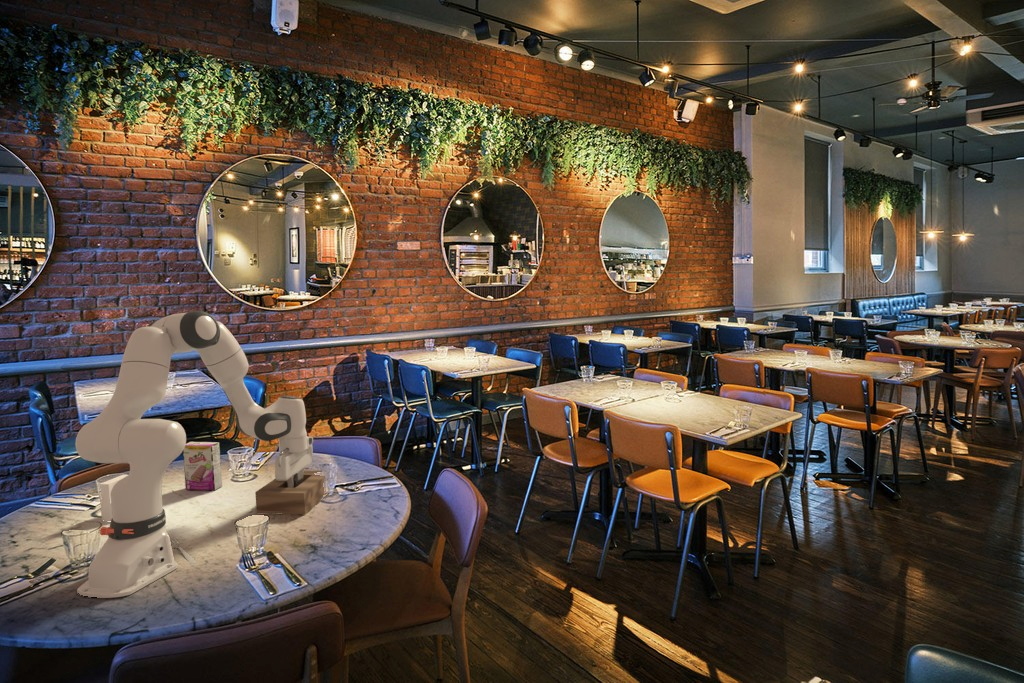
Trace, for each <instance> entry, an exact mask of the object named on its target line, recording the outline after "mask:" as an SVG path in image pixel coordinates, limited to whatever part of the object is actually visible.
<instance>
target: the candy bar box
mask: <svg viewBox="0 0 1024 683" xmlns="http://www.w3.org/2000/svg"><path fill="white" fill-rule="evenodd" d="M220 449H221V447H220V442H215V441H213V442H212V441H189V442H186V444H185V447H184V450H183V451H182V455H183V456H182V457H183V458H182V460H183V467H184V468H183V469H184V472H183V473H184V486H185V487H184V488H185V490H187V491H209V490H213V491H214V492H215V491H218V489H220V488H221V487H223V479H222V465H221V464H222V463H221V450H220ZM213 491H212V492H213Z"/></svg>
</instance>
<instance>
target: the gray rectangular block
mask: <svg viewBox="0 0 1024 683" xmlns="http://www.w3.org/2000/svg"><path fill="white" fill-rule="evenodd" d="M293 476H294V478H293V481H294V482H295V487H294V488H296V487H297V486H298V485H300V484H301V483H302V482H304V477H303V469H302V470H300V471H299V472H297V473H296V474H295V475H293ZM286 482H287V481H286ZM287 488H288V483H287Z"/></svg>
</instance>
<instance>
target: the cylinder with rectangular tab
mask: <svg viewBox="0 0 1024 683" xmlns="http://www.w3.org/2000/svg"><path fill="white" fill-rule="evenodd" d="M128 475H129V474H121V475H119V476H116V477H114V478H110V479H109V480H105V481H103V482H101V483H100V495H101V496H100V497H101V499H100V501H99V503H100V515H101V521H102V520H104V521H111V519H112V518H113V517H112V506H111V495H110V493H111V490H112V488H113V486H114V485H115V484H116V483H117V482H118V481H119V480H121V479H123V478H124V477H126V476H128ZM104 521H103V522H104Z"/></svg>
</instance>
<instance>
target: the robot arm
mask: <svg viewBox="0 0 1024 683" xmlns="http://www.w3.org/2000/svg"><path fill="white" fill-rule="evenodd" d="M193 351H195V352H197V354H198V355H199V357H200V358H201V359H200V360H202V362H203V364H204V366H205V367H206V369H207V370H208V372H209V373H210V374H211V376H212V377H213V379H214V380H215V381H216V382H217V383H218V384H219V386H220V387H221V389H222V390H223V392H224V394H225V396H226V398H227V400H228V401H229V403H230V405H231V407H232V409H233V411H234V415H235V423H236V427H237V429H238V430H239V432H240V433H241V434H243V435H245V436H248V437H251V438H254V439H256V440H260V441H263V442H270V441H274V440H277V439H278V449H279V453H278V456H277V457H276V458H275V462H274V479H275V478H276V480H277V481H287V483H288V488H294V487H295V482H294V481H293V478H294V476H293V475H295V474H296V473H297V472H299V471H300V470H302V469H303V473H304V470H305V468H306V467H308V466H309V465H311V463H313V462H312V461H313V457H314V455H313V454H314V453H313V452H314V450H313V448H314V447H313V443H314V437H313V436H308V432H307V430H306V424H307V414H306V407H305V403H304V400H303V398H301V397H298V396H294V395H293V396H292V395H281V396H279V397H278V398H277V399H276V400H275V401H274V402H273V403H272V404H271V405H269V406H267V407H262V406H260V405H259V404H257V403H256V402H255V400H253V398H252V396H251V394H250V391H249V390H248V388H247V387H246V384H245V382H244V378H245V376H246V375H247V374H248V371H249V367H250V365H249V361H248V358H247V357H246V353H245V352H244V351H243V349H242V347H241V345H240V344H239V342H238V340H237V339H236V338H235V337H234V335H233V334H232V333H231V331H230V330H229V329H228V328H227V327H226V325H224V324H223V322H221V321H218V320H217V319H215V318H214V316H212V315H211V314H210V313H209V312H206V311H202V310H190V311H188V312H181V313H173V314H170V315H167V316H164V317H160V318H157V319H154V320H153V321H151V322H150V323H149V324H148V325H147V326H142V327H139V328H137V329H135V330H134V331H133V332H132V333H131V335H130V337H129V338H128V341H127V344H126V346H125V350H124V352H123V356H122V359H121V365H120V369H119V374H118V378H117V381H116V386H115V389H114V392H113V394H112V397H111V398H110V400H109V401H108V403H107V405H106V406H105V407H104V409H103V410H102V411H101V412H100V413H99V414H98V415H97V416H96V417H95V418H94V419H92V420H91V421H89V422H88V423H86V424H84V425H83V426H82V427H81V428H80V429H79V431H78V433H77V435H76V437H75V443H74V444H75V449H76V452H77V454H78V456H79V457H80V458H81V459H83V460H85V461H89V462H93V463H99V464H129V473H128V474H127V475H128V476H126V477H124V478H123V479H121V480H119V481H118V482H117V483H116V484H115V485H114V486H113V488H112V490H111V493H110V495H111V506H112V517H113V518H112V519H111V522H109V523H110V524H109V526H101V527H100V529H99V532H98V533H99V535H100V536H107V537H108V538H107V540H106V541H105V542H104V544H103V545H102V547H101V548H100V549H99V550H98V552H97V554H96V555H95V557H94V558H93V560H91V562H90V564H89V567H88V579H87V580H86V581H85V582H84V583H82V584H81V585H80V586H79V587H78V588H77V589H76V591H77V592H78V593H79V594H80V595H79V594H78V593H77V592H76V593H77V594H78V595H79V596H81V595H83V596H82V597H84V596H88V597H87V598H91V597H97V598H96V599H113V598H121V597H126V596H129V595H131V594H134V593H136V592H137V591H140V590H141V589H143V588H145V587H147V586H148V585H150V584H152V583H153V582H156V581H157V580H159V579H160V578H162V577H164V576H166V575H167V574H170V573H171V572H174V571H175V570H176V569H178V567H179V565H178V562H177V561H176V560H175V558H174V554H173V549H172V548H173V547H172V546H171V544H172V541H171V539H170V537H171V536H170V537H169V535H170V534H168V531H167V530H166V526H165V525H166V523H167V522H166V521H167V520H166V518H167V516H166V510H165V509H164V508H163V493H162V492H163V481H164V480H163V479H164V476H165V473H166V471H167V469H168V467H169V466H170V465H171V464H172V462H173V461H175V460H176V459H177V458H178V457H179V456H181V454H183V450H184V447H185V444H187V434H186V430H185V429H184V427H183V426H182V424H180V423H179V422H178V421H173V420H168V419H163V418H142V417H143V415H144V414H145V413H146V412H147V411H148V410H149V409H150V408H153V407H154V406H156V405H158V404H160V403H161V402H162V401H163V399H164V397H165V395H166V390H167V387H168V386H167V385H168V379H169V373H170V368H171V361H172V360H171V359H172V356H173V354H182V353H183V354H185V353H189V352H193Z"/></svg>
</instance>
